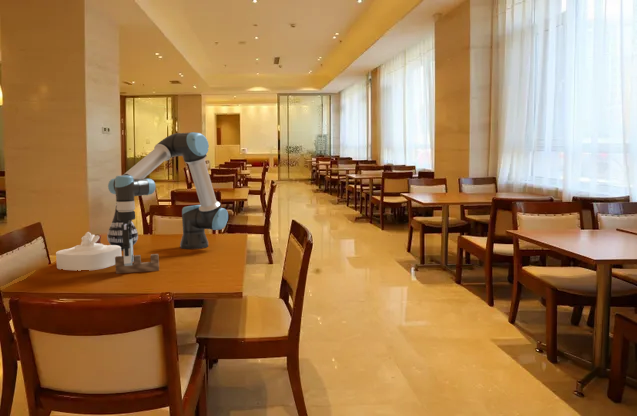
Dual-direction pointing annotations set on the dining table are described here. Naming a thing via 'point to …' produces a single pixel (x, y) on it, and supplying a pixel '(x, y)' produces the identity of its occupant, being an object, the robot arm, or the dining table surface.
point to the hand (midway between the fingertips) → (128, 260)
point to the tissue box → (88, 255)
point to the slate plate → (130, 253)
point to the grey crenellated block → (137, 264)
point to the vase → (119, 232)
